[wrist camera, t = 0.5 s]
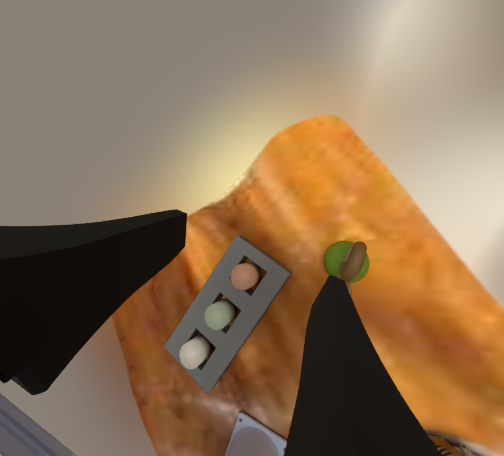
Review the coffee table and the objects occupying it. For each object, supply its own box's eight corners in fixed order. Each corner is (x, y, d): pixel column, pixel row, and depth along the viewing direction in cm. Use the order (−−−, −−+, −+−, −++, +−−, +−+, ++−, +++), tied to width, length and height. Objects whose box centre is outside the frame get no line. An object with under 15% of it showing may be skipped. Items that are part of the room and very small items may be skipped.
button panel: (215, 384, 34) (207, 394, 32) (174, 340, 37) (164, 346, 35) (292, 272, 32) (290, 273, 30) (242, 236, 36) (236, 235, 33)
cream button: (202, 364, 33) (192, 374, 30) (187, 348, 34) (175, 356, 31) (215, 346, 33) (205, 355, 30) (198, 330, 34) (187, 337, 31)
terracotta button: (251, 291, 32) (245, 295, 29) (233, 277, 33) (225, 279, 30) (264, 272, 32) (259, 274, 29) (246, 258, 33) (239, 258, 30)
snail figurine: (316, 277, 31) (315, 291, 20) (330, 237, 31) (338, 227, 20) (354, 293, 30) (377, 317, 18) (369, 250, 30) (402, 247, 18)
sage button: (227, 328, 33) (218, 335, 30) (210, 313, 34) (200, 318, 31) (239, 309, 32) (232, 315, 29) (222, 294, 33) (213, 298, 31)
